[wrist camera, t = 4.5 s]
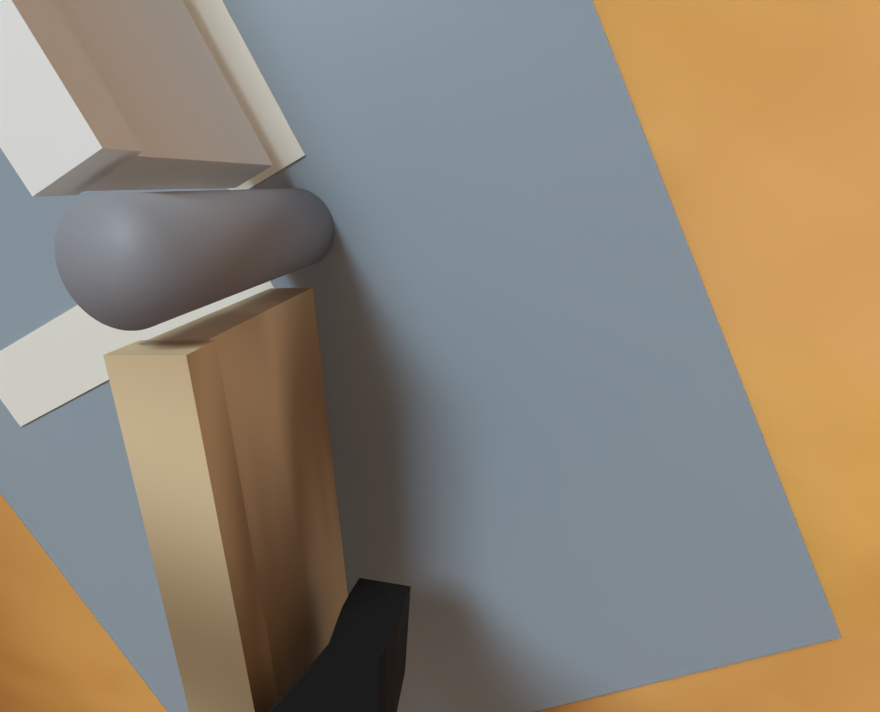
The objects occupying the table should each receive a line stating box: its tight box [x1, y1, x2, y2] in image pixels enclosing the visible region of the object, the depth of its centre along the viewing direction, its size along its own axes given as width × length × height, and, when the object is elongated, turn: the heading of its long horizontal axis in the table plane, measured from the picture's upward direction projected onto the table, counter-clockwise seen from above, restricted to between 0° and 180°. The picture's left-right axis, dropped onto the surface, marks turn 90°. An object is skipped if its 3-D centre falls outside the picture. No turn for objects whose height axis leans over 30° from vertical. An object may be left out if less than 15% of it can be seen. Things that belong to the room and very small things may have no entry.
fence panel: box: [103, 287, 348, 712], centre depth 9 cm, size 8×1×5 cm, turn 2°
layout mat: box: [0, 0, 841, 712], centre depth 11 cm, size 16×23×1 cm
